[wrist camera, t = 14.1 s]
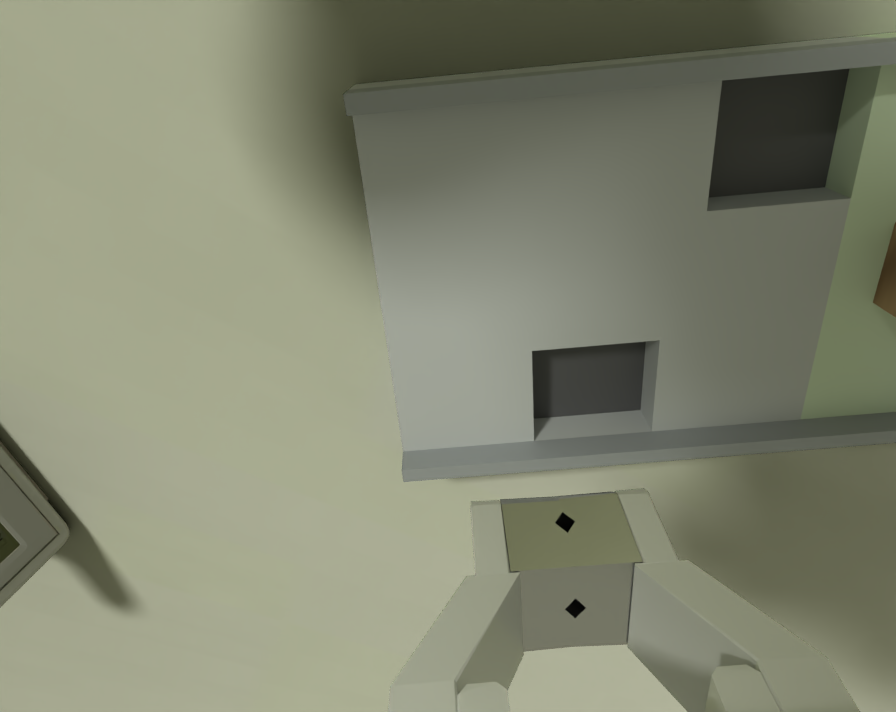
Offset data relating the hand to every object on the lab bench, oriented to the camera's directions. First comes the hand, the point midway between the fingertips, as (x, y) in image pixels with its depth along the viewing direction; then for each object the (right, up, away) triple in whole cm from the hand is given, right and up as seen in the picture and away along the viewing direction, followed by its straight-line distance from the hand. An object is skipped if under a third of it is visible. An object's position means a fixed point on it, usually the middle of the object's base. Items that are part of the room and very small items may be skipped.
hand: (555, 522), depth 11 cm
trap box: (+12, +9, +29) cm, 32 cm away
